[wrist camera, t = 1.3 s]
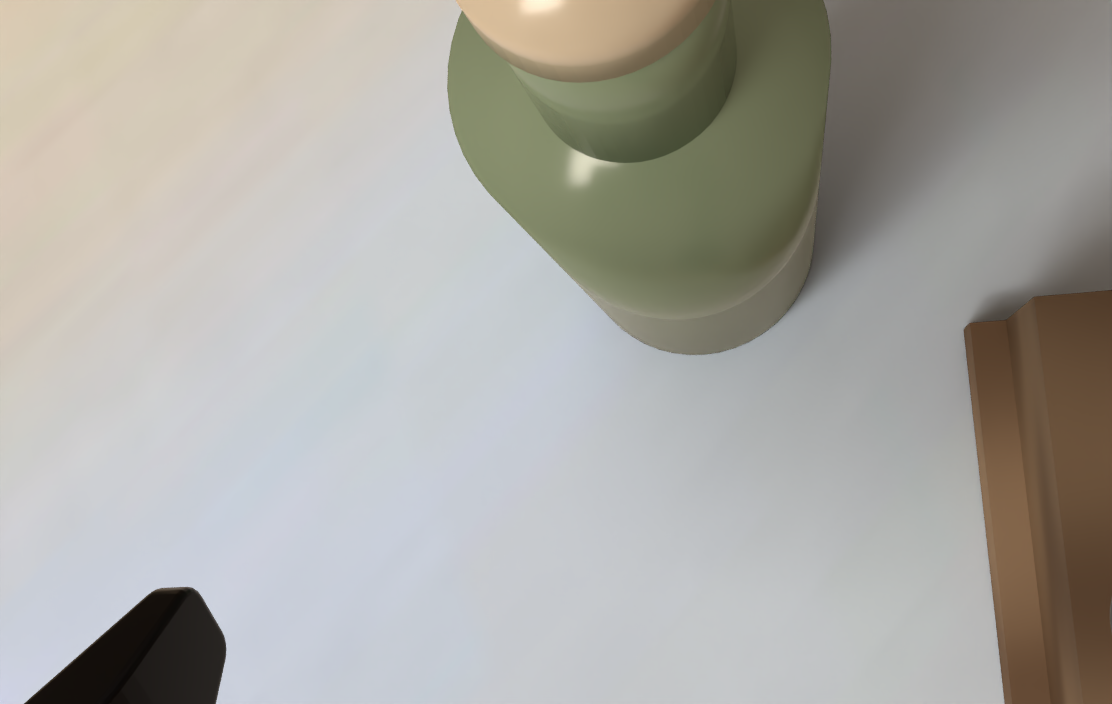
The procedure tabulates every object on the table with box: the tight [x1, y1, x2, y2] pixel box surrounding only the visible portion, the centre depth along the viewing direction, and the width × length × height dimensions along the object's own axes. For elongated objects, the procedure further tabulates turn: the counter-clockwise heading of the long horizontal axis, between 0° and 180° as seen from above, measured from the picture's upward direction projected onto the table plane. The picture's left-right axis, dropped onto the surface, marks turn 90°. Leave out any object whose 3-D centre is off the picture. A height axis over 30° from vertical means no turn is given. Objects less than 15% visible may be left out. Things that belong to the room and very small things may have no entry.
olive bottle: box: [447, 0, 831, 355], centre depth 17 cm, size 5×5×14 cm
